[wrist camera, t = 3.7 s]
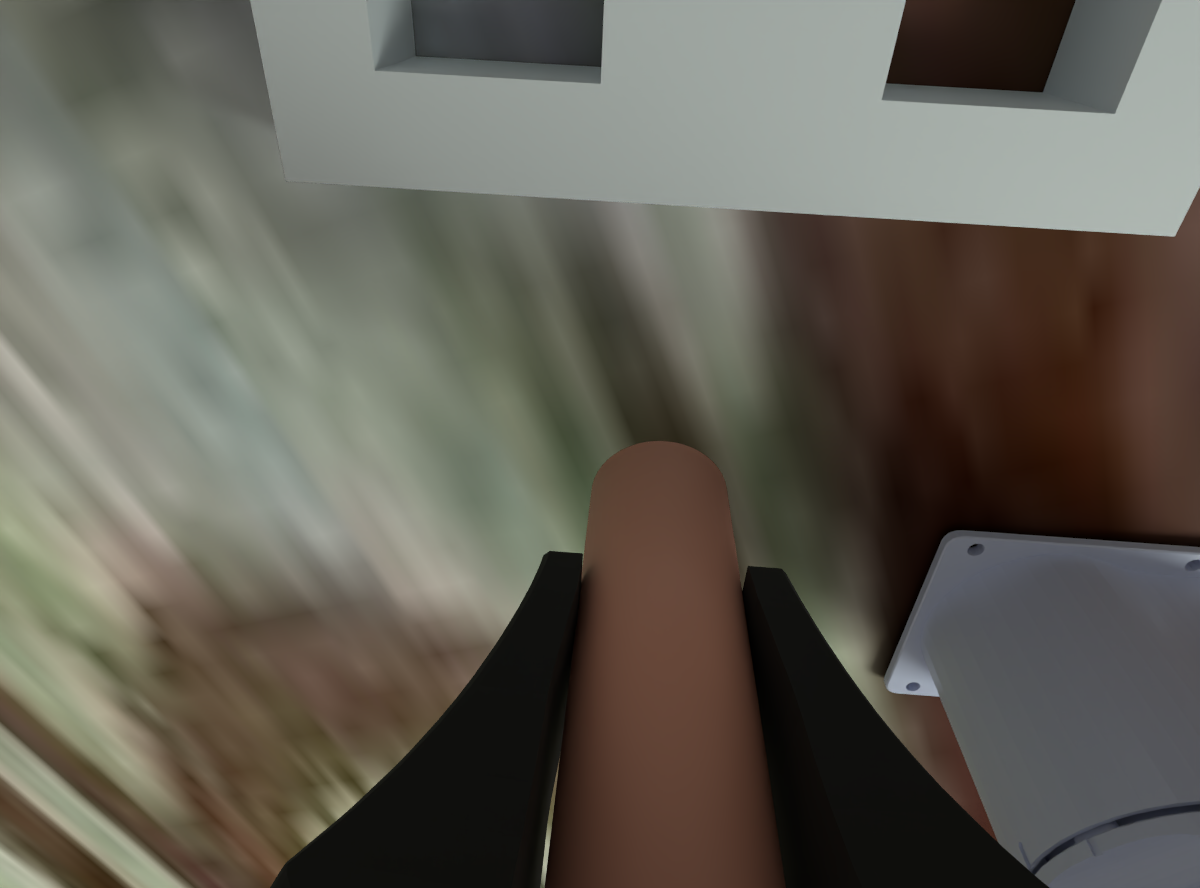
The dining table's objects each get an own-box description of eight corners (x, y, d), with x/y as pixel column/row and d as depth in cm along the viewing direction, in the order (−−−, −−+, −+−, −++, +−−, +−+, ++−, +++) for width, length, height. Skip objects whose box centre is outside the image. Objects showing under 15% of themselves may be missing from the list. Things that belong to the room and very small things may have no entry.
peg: (736, 445, 15) (825, 930, 7) (717, 553, 16) (773, 1037, 9) (593, 436, 15) (534, 904, 7) (588, 543, 16) (535, 1015, 9)
